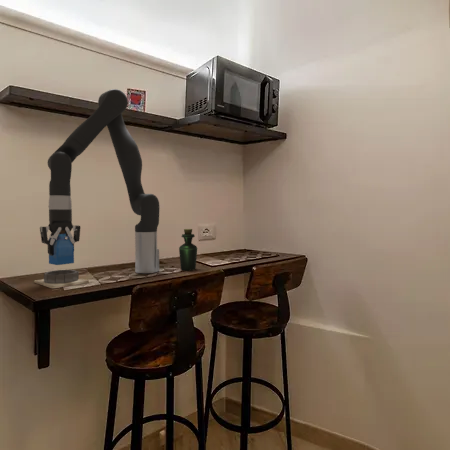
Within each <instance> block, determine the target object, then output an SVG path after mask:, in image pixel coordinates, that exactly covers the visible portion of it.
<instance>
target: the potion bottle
mask: <svg viewBox="0 0 450 450" xmlns="http://www.w3.org/2000/svg"><path fill="white" fill-rule="evenodd" d="M183 232H184V233H182V234H181V238H183V240H184V243H183V244H181V245H180V246H179V247H178V253H179V262H180V270H182V271H186V272H187V271H189V270H190V271H195V270H196V269H197V268H196V267H197V260H198V259H197V255H198V247H197V245H196V244H194V243H192V242H193V238H195V234H194V233H193V228H184V229H183Z"/></svg>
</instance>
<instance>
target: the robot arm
mask: <svg viewBox="0 0 450 450" xmlns="http://www.w3.org/2000/svg"><path fill="white" fill-rule="evenodd" d="M97 103H98V107H97V108H96V110H95V111H94V112H93V113H92V114H91V115H90V116H89V117H87V119H85V120H84V121H83V122H81V124H79V125H78V126H77V127H76V128H75V129H74V130H73V131H72V133H70V135H68V137H67V138H66V139H65V140H64V142H63V143H62V145H60V146H59V147H58V148H57V149H56V150H55V151H54V152H53V153H52V154H51V155H50V156H49V157H48V159H47V166H48V169H49V170H50V181H49V183H48V185H49V186H48V189H49V191H48V195H49V197H48V221H49V223H48V225H47V226H40V227H39V233H40V239H41V243H42V244H45V245H47V253H48V256H49V255H51V256H53V255H54V245H53V243H54V241H55V240H56V239H57V237H58V235H59V234H60V231H63V230H65V233H64V234H66V236H65V239H69V240H70V242H71V243H72V245H73V246H74V247H75V243H78V242H79V241H80V237H81V236H80V235H81V225H78V224H77V225H73V223H72V222H73V210H72V209H73V208H72V207H73V206H72V198H71V197H72V196H71V193H72V191H71V179H72V178H71V177H72V170H73V169H72V168H73V167H72V163H73V162H74V161H75V160H76V159H77V157H79V156H81V154H83V153H84V151H86V149H87V148H88V147H89V146H90V145H91V144H92V143H93V142H94V140H95V139H96V138H97V137H98V136H99V134H100V133H101V132H102V131H103V130H104V128H106V127H107V129H108V132H109V136H110V139H111V143H112V146H113V149H114V151H115V155H116V159H117V162H118V164H119V167H120V170H121V173H122V177H123V180H124V182H125V183H124V184H125V185H126V191H127V194H128V199H129V203H130V208H131V210H132V212H133V213H134V214H135V215H137V216H140V219H139V222H138V223H136V225H134V245H135V246H134V249H135V251H134V256H135V257H134V258H135V259H134V262H135V265H134V266H135V268H134V271H135V273H136V274H152V273H157V272H160V248H158V226H159V224H160V209H161V208H160V201H159V198H158V197H157V196H156V195H155V194H153V193H145V191H144V187H143V184H142V170H143V160H142V156H141V153H140V150H139V147H138V144H137V142H136V140H134V138H133V135H132V134H131V133H130V131H129V130H128V128H127V127H126V124H125V121H124V118H123V117H124V116H123V113H124V112H125V111H126V109H127V108H128V104H129V100H128V97H127V95H126V94H125V92H124V91H122V90H120V89H118V88H115V89H113V88H112V89H109V90H107V91H105V92H102V94H100V95H99V97H98V101H97ZM49 231H50V235H49V236H48V232H49ZM71 231H73V234H72V233H71ZM48 237H49V238H48Z"/></svg>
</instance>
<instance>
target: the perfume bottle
mask: <svg viewBox="0 0 450 450" xmlns="http://www.w3.org/2000/svg"><path fill="white" fill-rule="evenodd" d="M64 233H65V230H63V231H60V234H59V235H58V237H57V239H56V240H55V241H54V243H53V245H54V255H53V256H51V255H49V254H48V264H49V265H55V266H61V265H62V266H63V265H70V264H71V265H72V264H75V245H74V246H73V245H72V243H71V242H70V240H69V239H67V238H65V236H66V234H64Z"/></svg>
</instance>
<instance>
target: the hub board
mask: <svg viewBox="0 0 450 450" xmlns="http://www.w3.org/2000/svg"><path fill="white" fill-rule="evenodd" d="M79 276H80V275H79V270H74V269H57V270H49V271H46V272H44V273H43V278H42V279H37V280H36V279H35V280H34V281H33V283H35V284H37V285H41V286H44V287H46V288H50V289H58V288H63V287H64V288H65V287H72V286H75V285H76V286H77V285H82V284H83V285H84V284H89V282H90V280H88V279H86V278H85V279H84V278H81V277H79Z"/></svg>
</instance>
